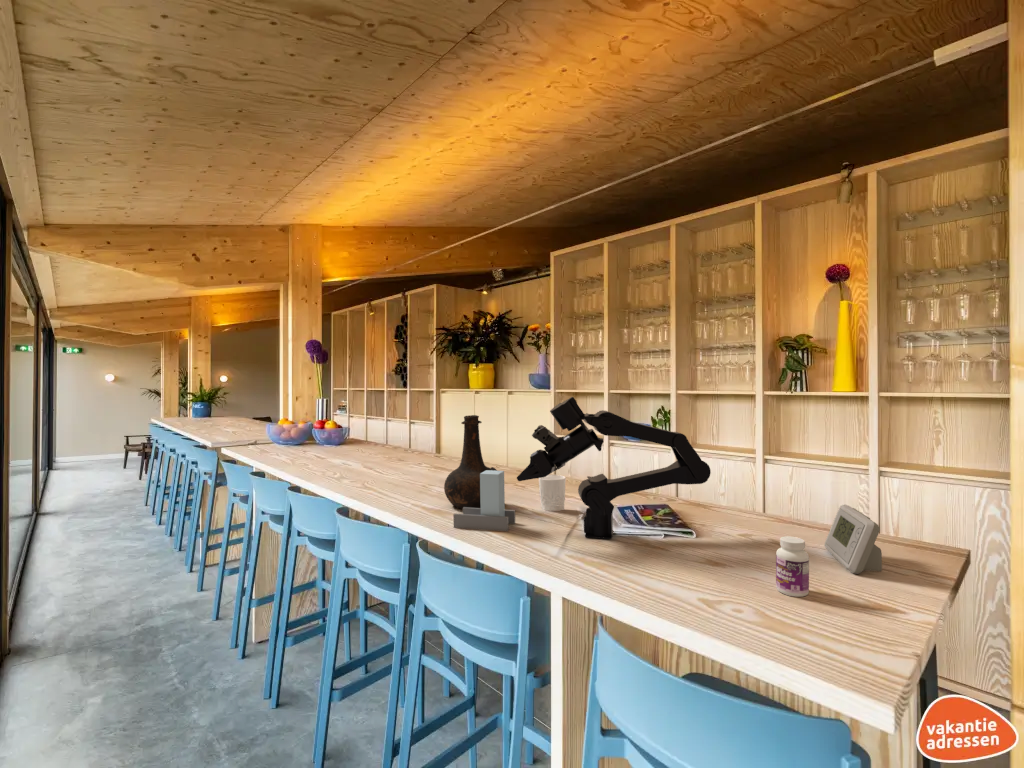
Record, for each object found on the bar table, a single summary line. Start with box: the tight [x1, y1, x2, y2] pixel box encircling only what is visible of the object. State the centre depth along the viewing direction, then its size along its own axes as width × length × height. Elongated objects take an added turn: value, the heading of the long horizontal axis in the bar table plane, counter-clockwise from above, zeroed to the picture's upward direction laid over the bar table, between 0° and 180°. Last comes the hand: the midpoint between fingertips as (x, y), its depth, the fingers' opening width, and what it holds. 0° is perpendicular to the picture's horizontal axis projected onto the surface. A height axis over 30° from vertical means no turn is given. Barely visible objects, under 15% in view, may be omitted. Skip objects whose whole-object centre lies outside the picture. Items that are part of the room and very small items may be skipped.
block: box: [480, 470, 506, 516], centre depth 140 cm, size 5×5×14 cm
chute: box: [453, 507, 516, 532], centre depth 140 cm, size 14×8×4 cm, turn 74°
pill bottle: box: [775, 535, 810, 598], centre depth 98 cm, size 5×5×10 cm
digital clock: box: [823, 504, 883, 575], centre depth 112 cm, size 16×9×11 cm, turn 155°
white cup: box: [538, 474, 567, 512], centre depth 157 cm, size 8×8×10 cm
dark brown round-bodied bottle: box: [443, 414, 498, 510], centre depth 162 cm, size 18×18×28 cm
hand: (522, 477), depth 137 cm, fingers open, 9 cm apart
